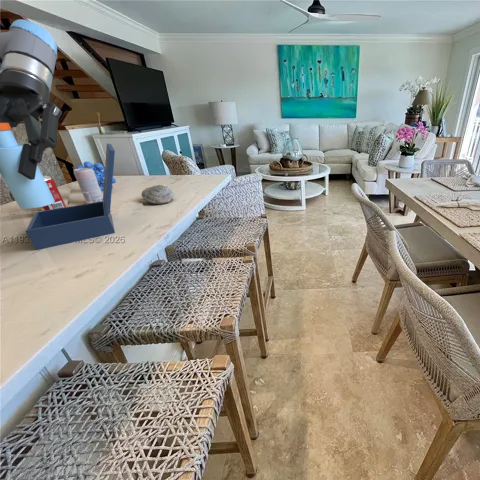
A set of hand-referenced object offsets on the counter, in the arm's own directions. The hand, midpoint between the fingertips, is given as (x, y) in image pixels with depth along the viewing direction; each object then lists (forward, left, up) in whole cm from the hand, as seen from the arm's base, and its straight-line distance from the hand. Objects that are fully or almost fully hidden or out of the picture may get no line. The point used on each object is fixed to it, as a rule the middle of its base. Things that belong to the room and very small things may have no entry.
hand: (6, 176), depth 51 cm
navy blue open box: (+4, +15, -19) cm, 25 cm away
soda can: (-2, +38, -20) cm, 43 cm away
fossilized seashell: (+27, +33, -20) cm, 47 cm away
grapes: (+10, +61, -20) cm, 65 cm away
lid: (+15, +15, -5) cm, 22 cm away
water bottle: (+2, +3, -7) cm, 8 cm away
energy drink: (+8, +45, -20) cm, 50 cm away
